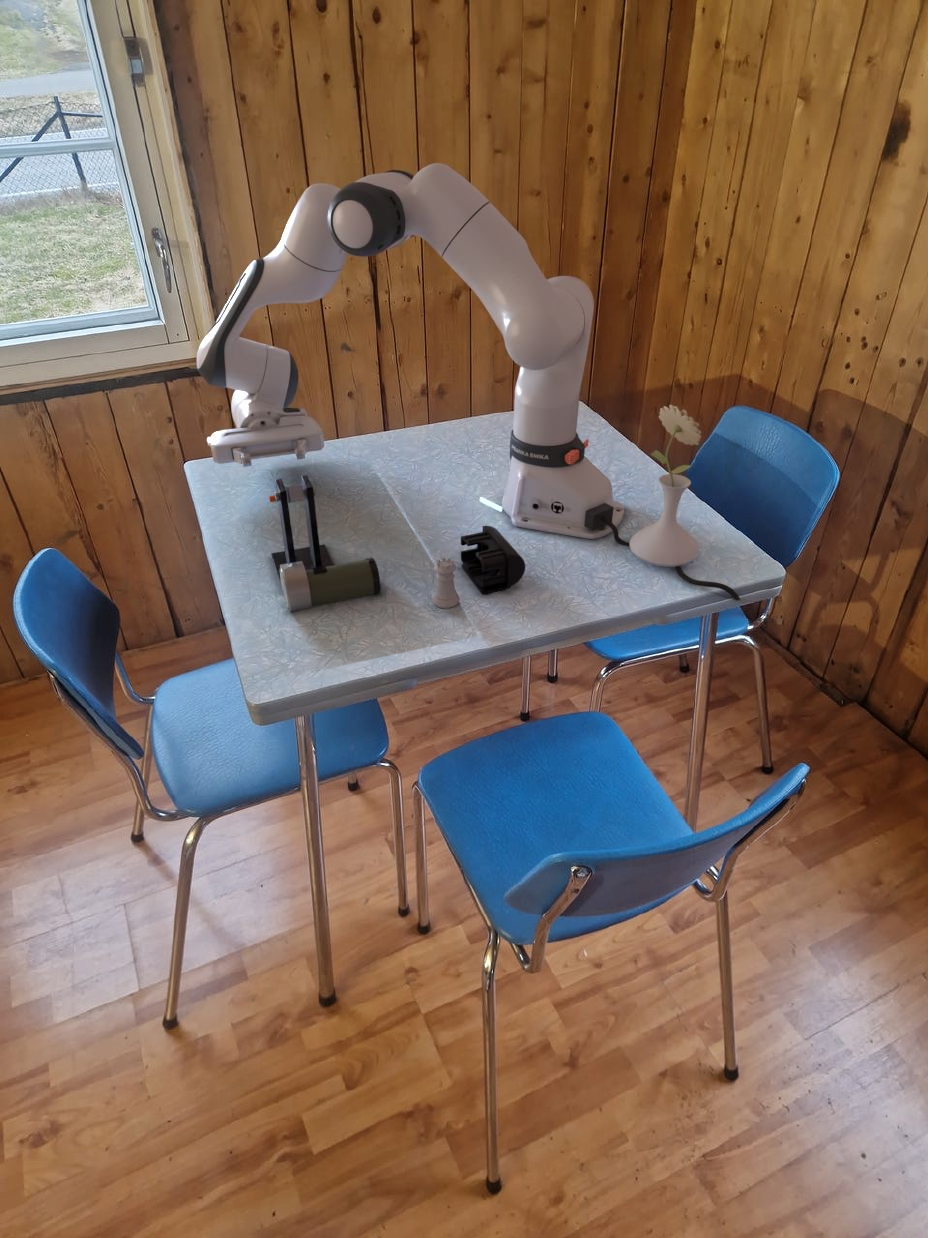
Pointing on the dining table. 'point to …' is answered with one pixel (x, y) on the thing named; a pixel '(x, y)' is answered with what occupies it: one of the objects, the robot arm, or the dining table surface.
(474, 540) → the end cap
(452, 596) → the rook chess piece
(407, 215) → the robot arm
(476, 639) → the dining table surface
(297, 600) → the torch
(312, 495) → the black lever stand
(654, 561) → the flower in vase
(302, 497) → the switch lever
